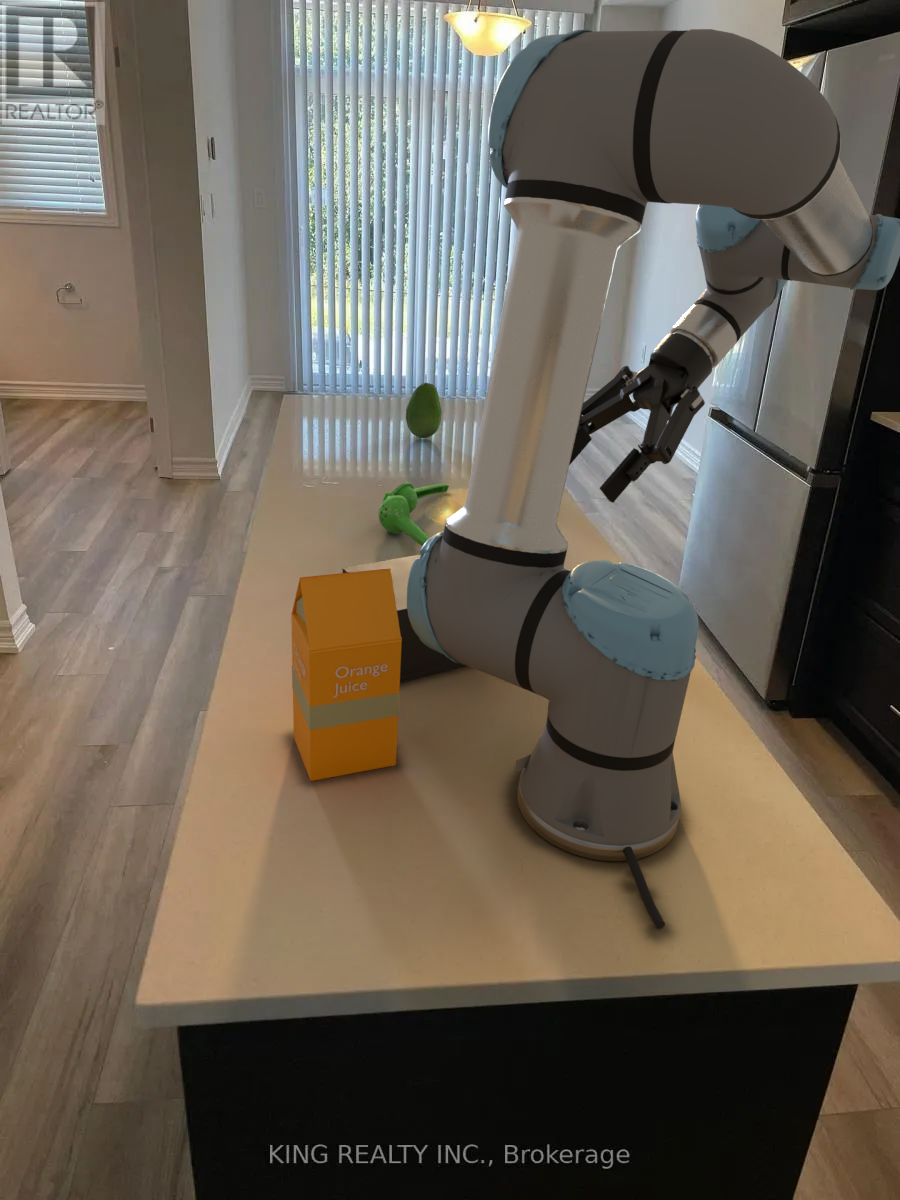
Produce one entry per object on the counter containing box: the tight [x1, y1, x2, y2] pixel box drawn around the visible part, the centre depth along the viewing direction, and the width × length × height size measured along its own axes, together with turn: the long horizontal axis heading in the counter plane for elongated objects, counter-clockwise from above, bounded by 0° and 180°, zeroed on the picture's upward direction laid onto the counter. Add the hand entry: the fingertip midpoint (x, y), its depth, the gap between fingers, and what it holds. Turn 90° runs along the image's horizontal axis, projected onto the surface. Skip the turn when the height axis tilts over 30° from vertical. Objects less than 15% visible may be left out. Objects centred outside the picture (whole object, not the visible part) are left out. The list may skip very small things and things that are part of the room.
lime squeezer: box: [378, 481, 450, 547], centre depth 143 cm, size 34×12×6 cm, turn 1°
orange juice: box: [290, 568, 402, 782], centre depth 83 cm, size 8×9×20 cm
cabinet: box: [342, 554, 467, 683], centre depth 105 cm, size 15×13×10 cm
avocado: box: [405, 382, 443, 439], centre depth 188 cm, size 8×8×12 cm
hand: (578, 482), depth 110 cm, fingers open, 10 cm apart
